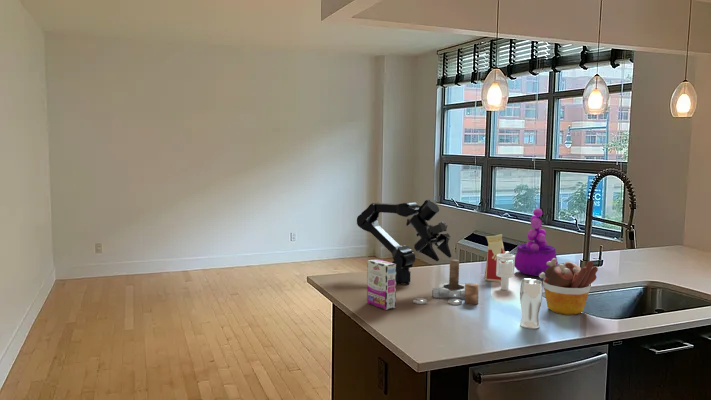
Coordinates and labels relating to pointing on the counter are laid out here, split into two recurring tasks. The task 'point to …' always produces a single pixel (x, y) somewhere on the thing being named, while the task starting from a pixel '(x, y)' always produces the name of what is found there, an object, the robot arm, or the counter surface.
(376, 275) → the candy bar box
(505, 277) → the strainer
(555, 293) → the bucket of meat
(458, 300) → the disc
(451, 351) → the counter surface
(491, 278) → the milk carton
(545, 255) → the decorative plant
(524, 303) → the beer glass
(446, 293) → the octagonal socket plate
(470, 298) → the cherry stub
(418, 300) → the disc
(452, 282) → the walnut peg
